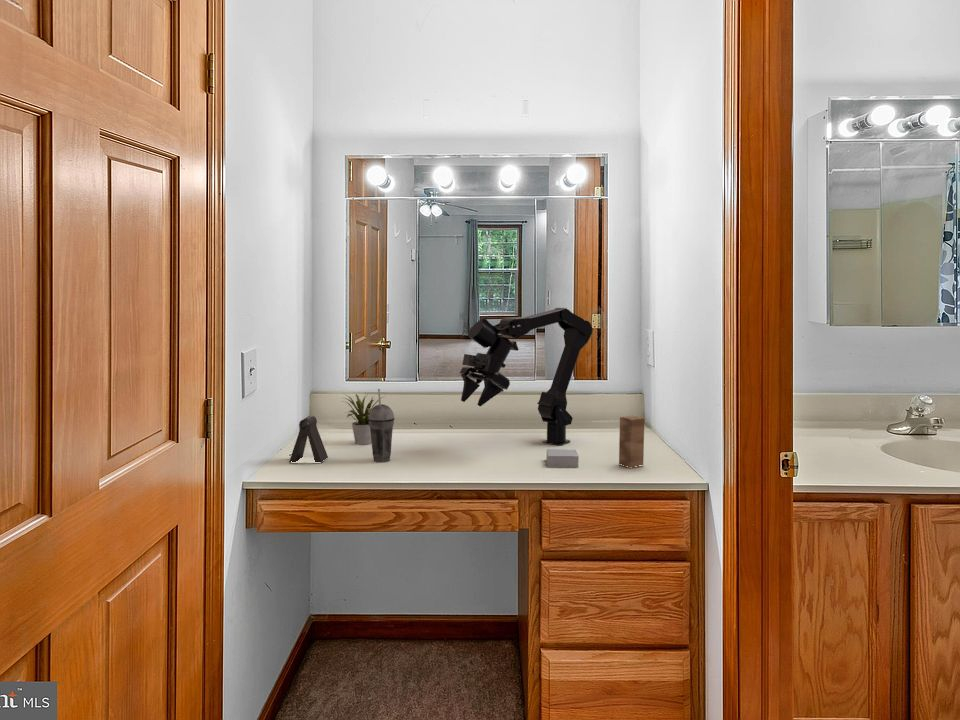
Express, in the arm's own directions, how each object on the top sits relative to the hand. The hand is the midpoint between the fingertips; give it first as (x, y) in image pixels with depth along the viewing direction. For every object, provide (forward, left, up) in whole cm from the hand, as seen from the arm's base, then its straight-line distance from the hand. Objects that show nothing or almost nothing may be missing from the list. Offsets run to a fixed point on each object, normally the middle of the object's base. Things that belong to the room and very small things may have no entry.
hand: (470, 403), depth 192 cm
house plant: (+8, -37, -15) cm, 41 cm away
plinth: (-6, +26, -15) cm, 31 cm away
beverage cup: (+20, -16, -15) cm, 29 cm away
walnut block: (-15, +42, -15) cm, 47 cm away
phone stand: (+32, -32, -15) cm, 47 cm away
